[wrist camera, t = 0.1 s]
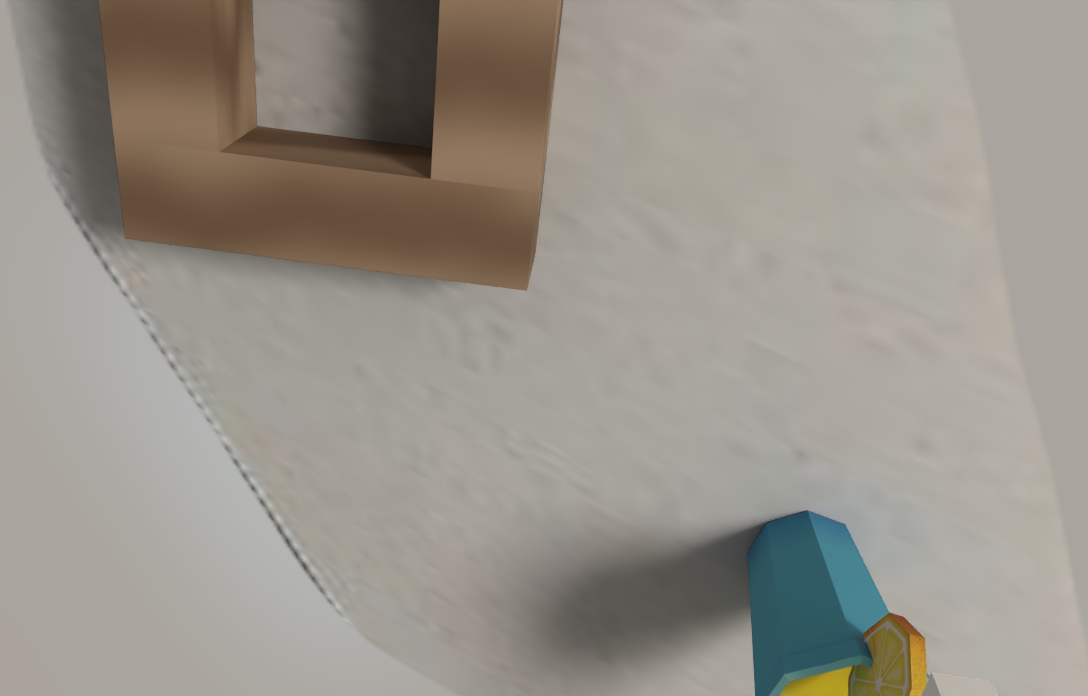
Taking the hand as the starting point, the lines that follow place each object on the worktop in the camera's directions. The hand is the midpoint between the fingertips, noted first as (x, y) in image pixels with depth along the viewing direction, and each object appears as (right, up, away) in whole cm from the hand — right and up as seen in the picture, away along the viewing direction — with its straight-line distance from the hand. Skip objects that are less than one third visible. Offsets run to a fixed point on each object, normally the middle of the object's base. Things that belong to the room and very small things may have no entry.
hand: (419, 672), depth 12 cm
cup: (+15, -7, +34) cm, 37 cm away
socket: (-6, +16, +23) cm, 29 cm away
